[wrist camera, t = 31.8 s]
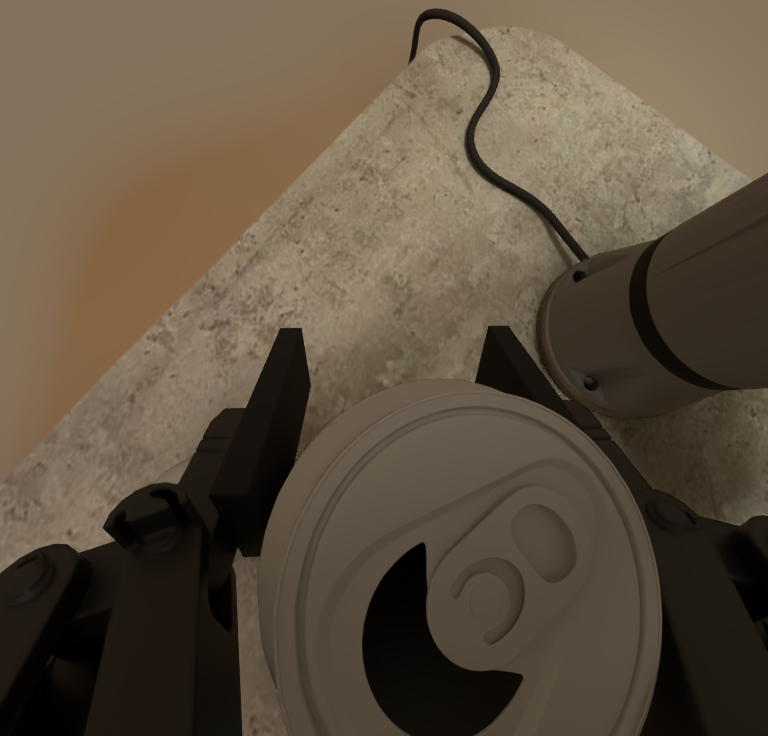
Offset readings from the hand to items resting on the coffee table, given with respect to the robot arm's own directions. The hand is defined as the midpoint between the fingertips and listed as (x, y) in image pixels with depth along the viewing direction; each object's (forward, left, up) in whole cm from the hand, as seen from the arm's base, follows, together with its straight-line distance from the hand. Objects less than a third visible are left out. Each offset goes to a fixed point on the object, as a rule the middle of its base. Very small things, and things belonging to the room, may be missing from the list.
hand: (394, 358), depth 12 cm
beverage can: (+5, -1, -4) cm, 7 cm away
